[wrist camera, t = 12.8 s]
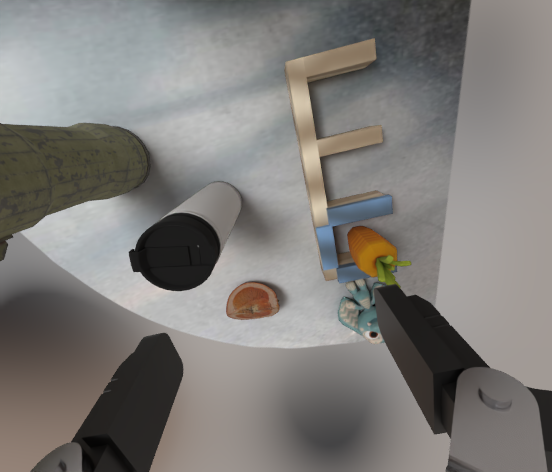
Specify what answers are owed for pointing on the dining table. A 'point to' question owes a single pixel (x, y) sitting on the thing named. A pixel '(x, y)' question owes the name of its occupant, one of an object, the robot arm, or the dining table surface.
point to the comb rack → (312, 149)
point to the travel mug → (188, 239)
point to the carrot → (374, 254)
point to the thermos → (63, 170)
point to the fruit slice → (252, 302)
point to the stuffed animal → (368, 317)
